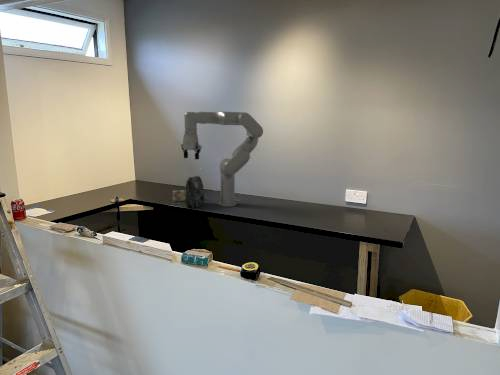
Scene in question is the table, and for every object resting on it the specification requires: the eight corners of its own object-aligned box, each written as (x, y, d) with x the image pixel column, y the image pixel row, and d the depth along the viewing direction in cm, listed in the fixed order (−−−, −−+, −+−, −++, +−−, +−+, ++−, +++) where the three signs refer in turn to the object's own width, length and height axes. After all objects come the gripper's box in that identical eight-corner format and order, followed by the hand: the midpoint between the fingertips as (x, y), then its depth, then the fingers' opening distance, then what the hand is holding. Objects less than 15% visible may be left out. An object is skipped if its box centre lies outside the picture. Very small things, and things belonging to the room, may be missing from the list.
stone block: (195, 209, 226) (195, 179, 222) (183, 208, 229) (183, 178, 225) (208, 202, 243) (207, 174, 239) (196, 201, 246) (196, 173, 242)
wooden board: (201, 199, 252) (201, 189, 251) (201, 199, 251) (201, 190, 249) (173, 200, 248) (172, 190, 246) (173, 201, 246) (172, 191, 244)
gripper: (176, 131, 223) (177, 158, 227) (196, 132, 214) (197, 160, 217) (185, 131, 229) (185, 156, 233) (205, 132, 220) (205, 159, 224)
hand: (191, 158), depth 225 cm, fingers open, 9 cm apart
